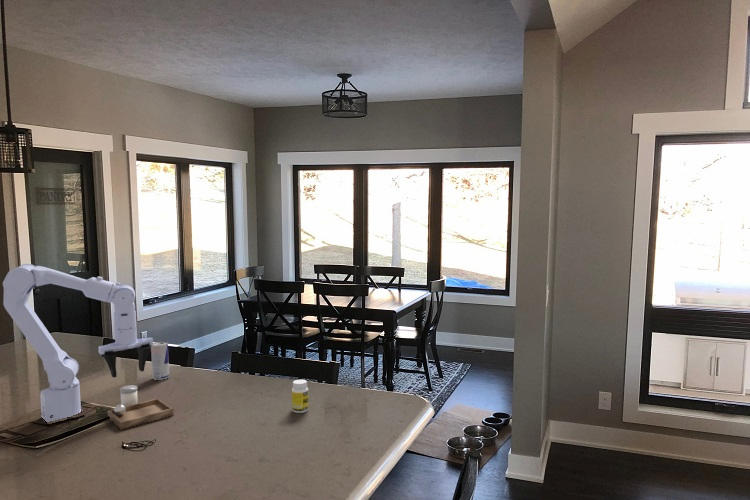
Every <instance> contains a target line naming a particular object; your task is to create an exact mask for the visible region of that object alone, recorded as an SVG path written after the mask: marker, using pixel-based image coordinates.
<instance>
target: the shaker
mask: <svg viewBox="0 0 750 500" xmlns="http://www.w3.org/2000/svg"><path fill="white" fill-rule="evenodd" d="M119 393H120V405H124V406H125V407H126V406H130V405H133V404H137V403H139V402H138V400H139V399H138V385H135V384H131V385H124V386H122V387H120V388H119Z"/></svg>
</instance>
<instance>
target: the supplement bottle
mask: <svg viewBox="0 0 750 500" xmlns="http://www.w3.org/2000/svg"><path fill="white" fill-rule="evenodd" d="M307 381H308V380H305V379H296V380H293V381H292V388H291V411H292V412H293V413H295V414H296V413H297V414H300V413H301V414H302V413H306V412H308V410H309V408H310V407H309V388H308V382H307Z"/></svg>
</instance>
